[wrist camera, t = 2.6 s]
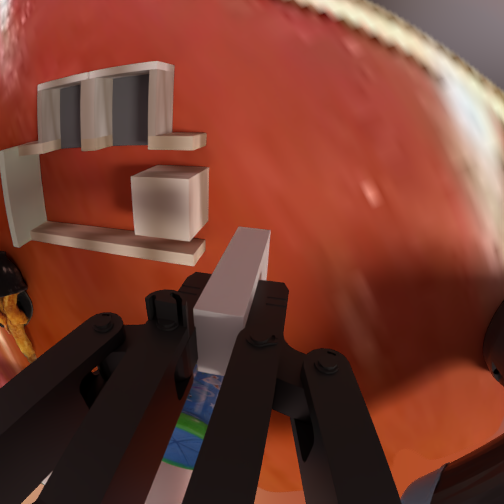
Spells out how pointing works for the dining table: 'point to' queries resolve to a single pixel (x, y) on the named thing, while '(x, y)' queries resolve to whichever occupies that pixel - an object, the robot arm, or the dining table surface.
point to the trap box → (90, 139)
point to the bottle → (169, 485)
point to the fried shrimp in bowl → (15, 305)
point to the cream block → (170, 201)
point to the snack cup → (193, 420)
